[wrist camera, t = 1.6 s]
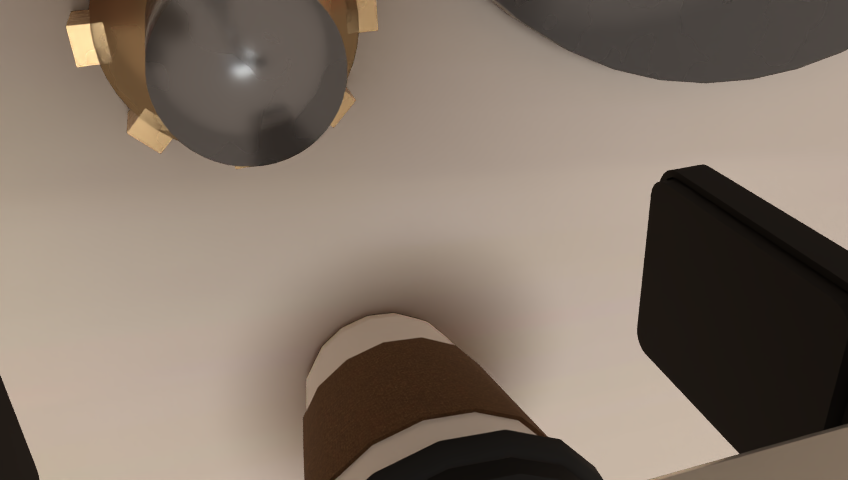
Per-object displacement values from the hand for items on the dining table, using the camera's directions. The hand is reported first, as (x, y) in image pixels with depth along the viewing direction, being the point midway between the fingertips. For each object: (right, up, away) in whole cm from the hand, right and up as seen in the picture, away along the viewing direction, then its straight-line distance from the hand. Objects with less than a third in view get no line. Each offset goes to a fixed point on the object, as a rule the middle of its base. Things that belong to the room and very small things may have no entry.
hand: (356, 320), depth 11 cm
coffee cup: (-1, -5, +24) cm, 24 cm away
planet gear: (-6, +9, +15) cm, 18 cm away
